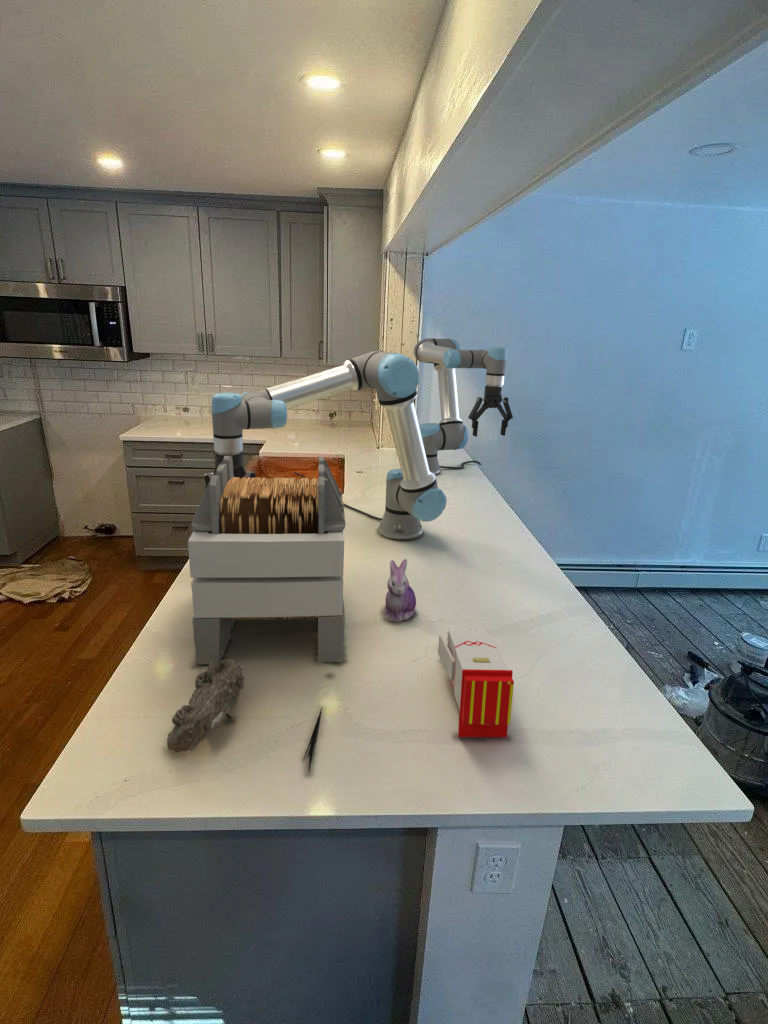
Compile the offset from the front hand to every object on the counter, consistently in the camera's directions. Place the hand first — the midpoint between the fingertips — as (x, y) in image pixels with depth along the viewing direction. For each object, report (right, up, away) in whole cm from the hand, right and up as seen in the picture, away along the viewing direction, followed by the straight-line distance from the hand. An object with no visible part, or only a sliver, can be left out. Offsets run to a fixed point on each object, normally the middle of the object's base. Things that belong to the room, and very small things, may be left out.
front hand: (232, 531), depth 160 cm
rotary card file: (+16, -23, -20) cm, 34 cm away
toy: (+61, -32, -41) cm, 80 cm away
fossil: (+10, -34, -52) cm, 62 cm away
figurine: (+47, -21, -12) cm, 53 cm away
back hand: (+88, +38, +85) cm, 128 cm away
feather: (+30, -34, -51) cm, 69 cm away
